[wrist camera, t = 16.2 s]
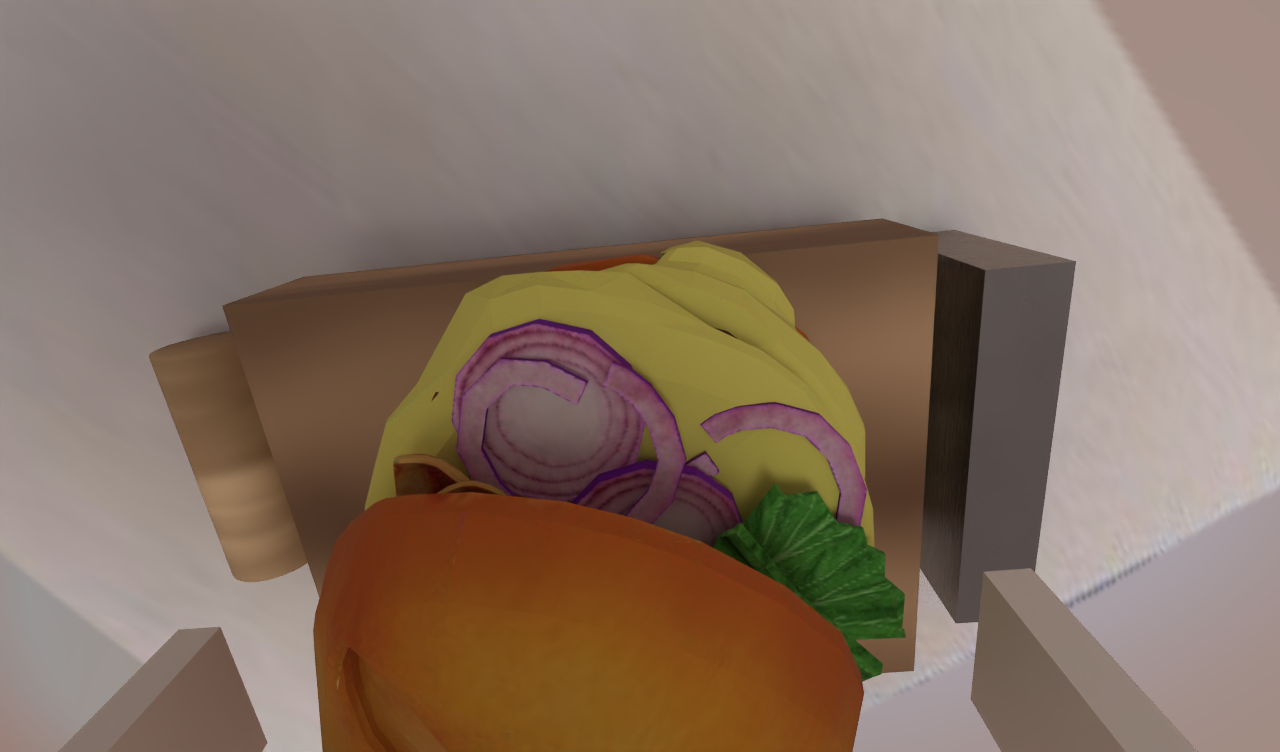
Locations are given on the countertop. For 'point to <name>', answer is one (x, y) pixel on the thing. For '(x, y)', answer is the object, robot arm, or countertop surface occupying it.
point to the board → (430, 294)
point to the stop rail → (990, 411)
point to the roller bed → (229, 455)
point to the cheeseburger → (611, 528)
